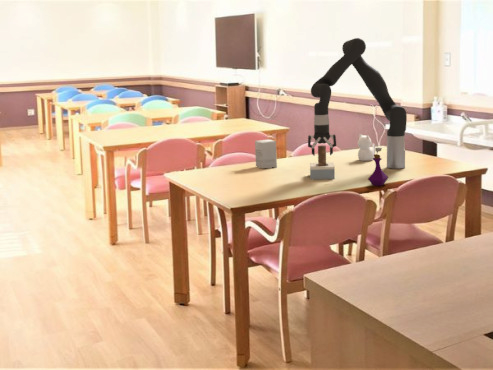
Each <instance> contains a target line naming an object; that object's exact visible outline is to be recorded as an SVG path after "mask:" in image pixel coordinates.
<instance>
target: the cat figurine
mask: <svg viewBox="0 0 493 370" xmlns="http://www.w3.org/2000/svg"><path fill="white" fill-rule="evenodd" d="M358 137H359V138H358V140H357V146H358V148H359V150H358V152H357V157H358V160H359V161H361V162H369V161H372V160H373V158H374V154H376V148H377V147H376V144H375V143H373V142H372V138H370V135H369V134H367V135H363V134H362V133H359V135H358Z"/></svg>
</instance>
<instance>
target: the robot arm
mask: <svg viewBox="0 0 493 370" xmlns="http://www.w3.org/2000/svg"><path fill="white" fill-rule="evenodd" d="M366 45H367V44H366V42H365V41H364V39H362V38H360V37H354V38H352V39H348V40H346V41H345V42H344V43H343V44H342V47H341V48H342V53H343V56H341V57H340V58H339V60H337V61H335V63H333V64H332V65H331V66H330V68H329V69H328V70H327V71H326V72H325V74H323V76H322V77H320V78H319V79H318V80H316V81H315V82H314V83H313V85H312V86H311V88H310V94H311V96H312V97H314V98H318V99H319V101H318V102H317V103H316V102H315V104H314V106H313V107H314V108H313V109H314V110H313V111H314V113H313V114H314V116H313V117H314V118H313V125H314V126H313V131H314V134H313V135H311V134H309V135H308V136H307V146H308V148H309V149H311V155H313V156H314V157H315V152H316V151H315V147H316V146H317V145H318V144H319V145H321V144H327V145H328V146H329V155H330V156H332V154H333V153H334V148H335V147H337V139H336V138H337V137H336V136H337V135H336V134H335V133H334V134H330V118H329V117H330V116H329V104H330V101H331V96H332V88H331V87H333V86H335V85H336V84H337V82H338V81H339V80H340V79H341V78H342V76H343V75H344V73H345V72H346V71H347V70H348V69H349V67H350V66H353V68H354V69H355V71H356V72H357V74H358V75H359V76H360V78H361V80H362V81H363V83H364V84H365V86H366V87H367V89H368V90H369V92H370V93H371V94H372V96H373V97H374V99H375V100H376V101H377V103H378V104H379V107H380V108H381V110H382V113H383V114H384V116H385V118H386V120H387V121H389V126H388V127H389V128H388V129H387V130H386V167H387V168H388V169H405V168H406V150H405V133H406V131H407V116H408V115H407V111H406V108H405V107H403V106H401V105H398V104H397V103H396V102H395V101H394V100H393V98H392V97H391V94H390V93H389V90H388V86H387V83H386V81H385V78H384V77H383V76H382V75H381V73H380V72H379V71H378V70H377V69H376V68H375V67H374V66H372V65H371V64H370V63H368V62H367V61H366V60H365V59H364V57H363V56H362V55H363V54H364V53H365V51H366V48H367V46H366ZM330 138H331V139H332V140H333V143H331V141H330ZM312 140H315V141H314V142H313V144H311V141H312ZM313 156H312V157H313Z"/></svg>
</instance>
